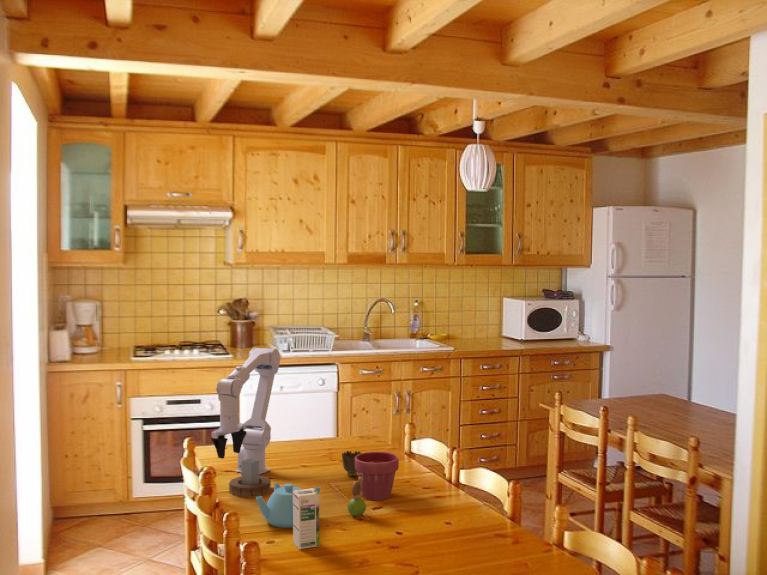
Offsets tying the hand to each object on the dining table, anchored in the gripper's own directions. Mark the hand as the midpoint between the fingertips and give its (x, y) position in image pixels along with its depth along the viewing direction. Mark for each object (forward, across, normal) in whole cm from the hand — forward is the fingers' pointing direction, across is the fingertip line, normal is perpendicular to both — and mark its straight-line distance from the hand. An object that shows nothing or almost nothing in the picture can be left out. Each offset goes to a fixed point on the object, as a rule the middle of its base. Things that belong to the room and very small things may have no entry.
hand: (229, 455), depth 251 cm
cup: (+11, +31, -29) cm, 44 cm away
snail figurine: (+11, -1, -51) cm, 52 cm away
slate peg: (+10, 0, -9) cm, 14 cm away
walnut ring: (+10, 0, -9) cm, 14 cm away
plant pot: (+11, +17, -47) cm, 51 cm away
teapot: (+11, -15, -36) cm, 40 cm away
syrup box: (+11, -27, -51) cm, 59 cm away
